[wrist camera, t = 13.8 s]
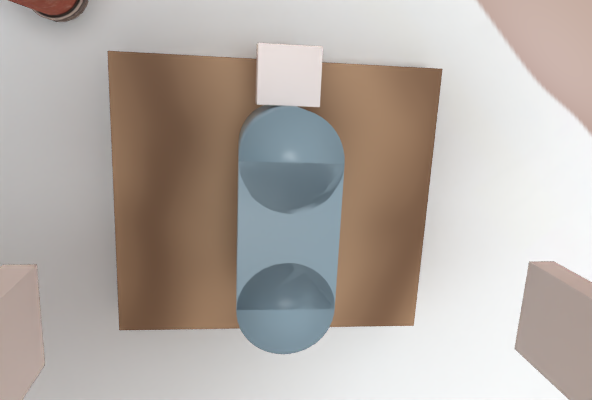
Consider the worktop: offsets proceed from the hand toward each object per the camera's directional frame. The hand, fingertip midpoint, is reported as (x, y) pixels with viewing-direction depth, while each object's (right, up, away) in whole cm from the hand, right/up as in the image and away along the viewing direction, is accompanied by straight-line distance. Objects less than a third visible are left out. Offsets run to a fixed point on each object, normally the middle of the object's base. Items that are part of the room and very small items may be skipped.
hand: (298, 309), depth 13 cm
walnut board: (-1, +3, +14) cm, 14 cm away
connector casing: (-1, +4, +11) cm, 12 cm away
